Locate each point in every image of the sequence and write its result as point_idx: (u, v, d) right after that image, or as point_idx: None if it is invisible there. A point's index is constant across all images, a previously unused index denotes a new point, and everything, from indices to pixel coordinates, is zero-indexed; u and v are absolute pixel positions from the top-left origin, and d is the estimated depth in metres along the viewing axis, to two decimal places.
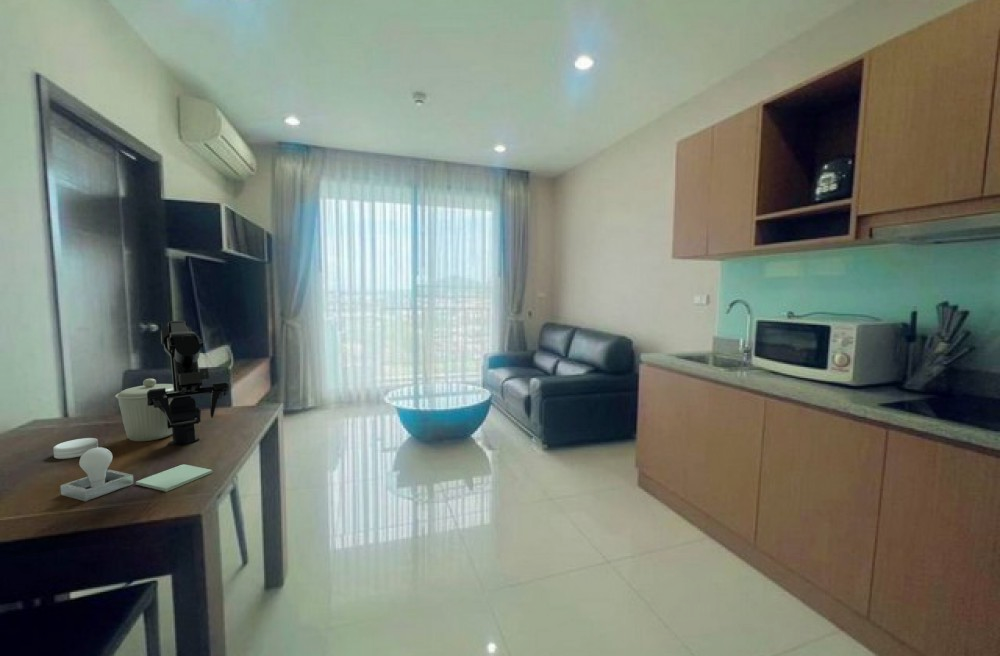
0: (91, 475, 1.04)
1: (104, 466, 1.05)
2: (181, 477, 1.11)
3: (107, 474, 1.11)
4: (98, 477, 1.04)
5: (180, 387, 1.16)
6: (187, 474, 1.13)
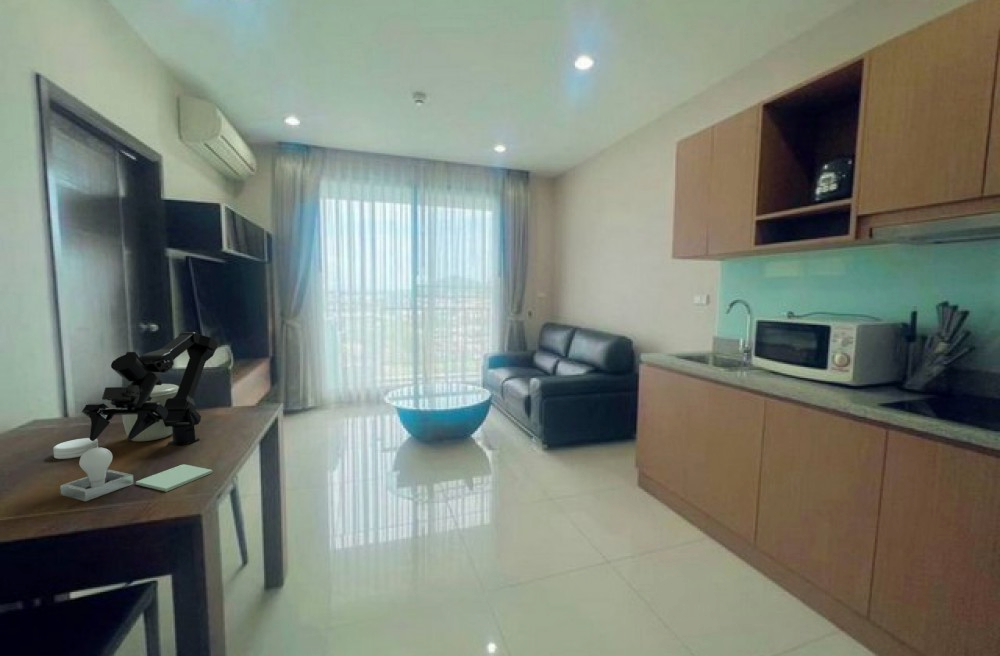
0: (91, 475, 1.04)
1: (104, 466, 1.05)
2: (181, 477, 1.11)
3: (107, 474, 1.11)
4: (98, 477, 1.04)
5: (115, 404, 1.14)
6: (187, 474, 1.13)
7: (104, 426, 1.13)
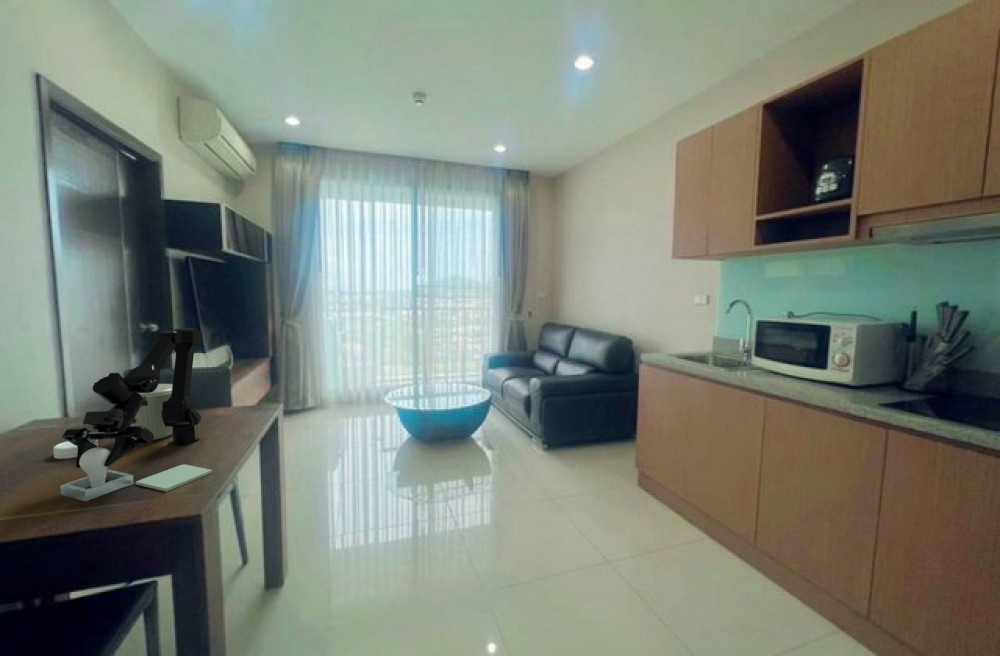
0: (91, 475, 1.04)
1: (104, 466, 1.05)
2: (181, 477, 1.11)
3: (107, 474, 1.11)
4: (98, 477, 1.04)
5: (97, 428, 1.08)
6: (187, 474, 1.13)
7: None
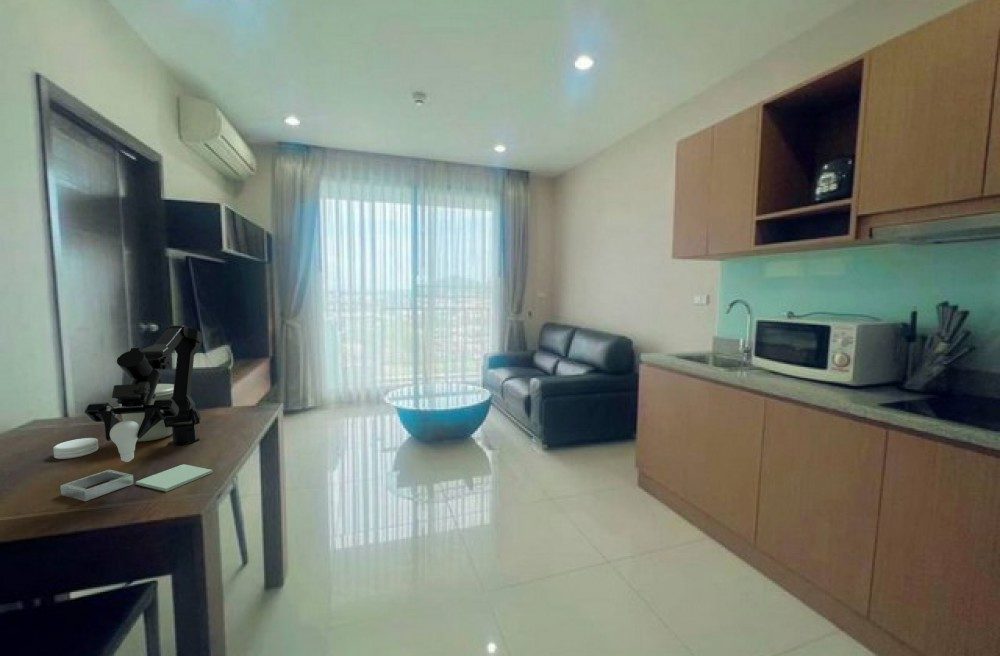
0: (123, 447, 1.05)
1: (135, 438, 1.07)
2: (181, 477, 1.11)
3: (107, 474, 1.11)
4: (129, 449, 1.06)
5: (121, 402, 1.09)
6: (187, 474, 1.13)
7: None
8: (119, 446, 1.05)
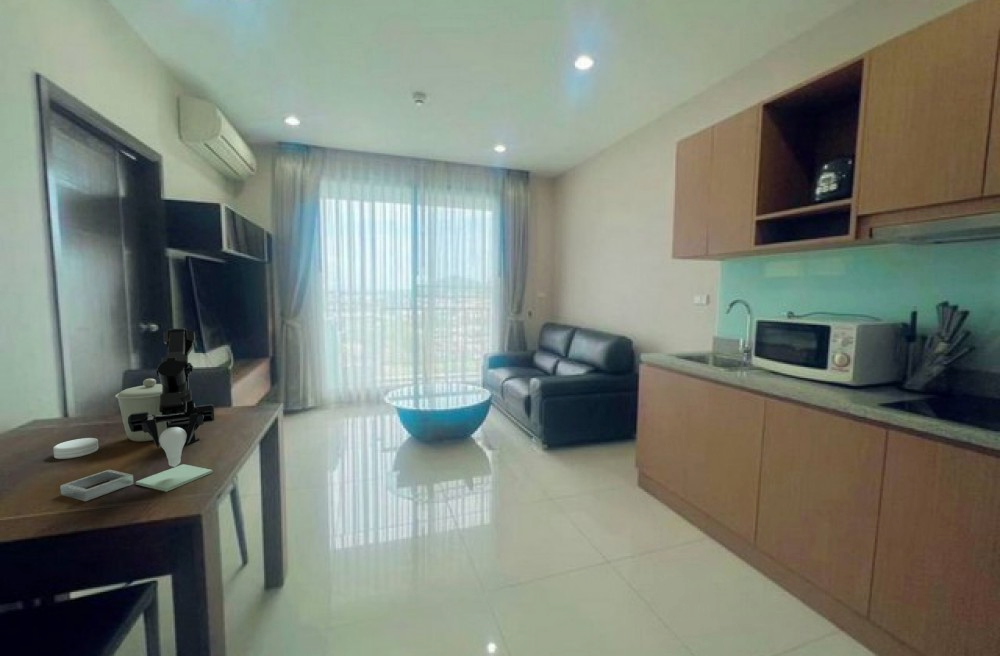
0: (173, 452, 1.10)
1: (184, 443, 1.12)
2: (181, 477, 1.11)
3: (107, 474, 1.11)
4: (179, 454, 1.12)
5: (163, 410, 1.13)
6: (187, 474, 1.13)
7: None
8: (170, 451, 1.10)
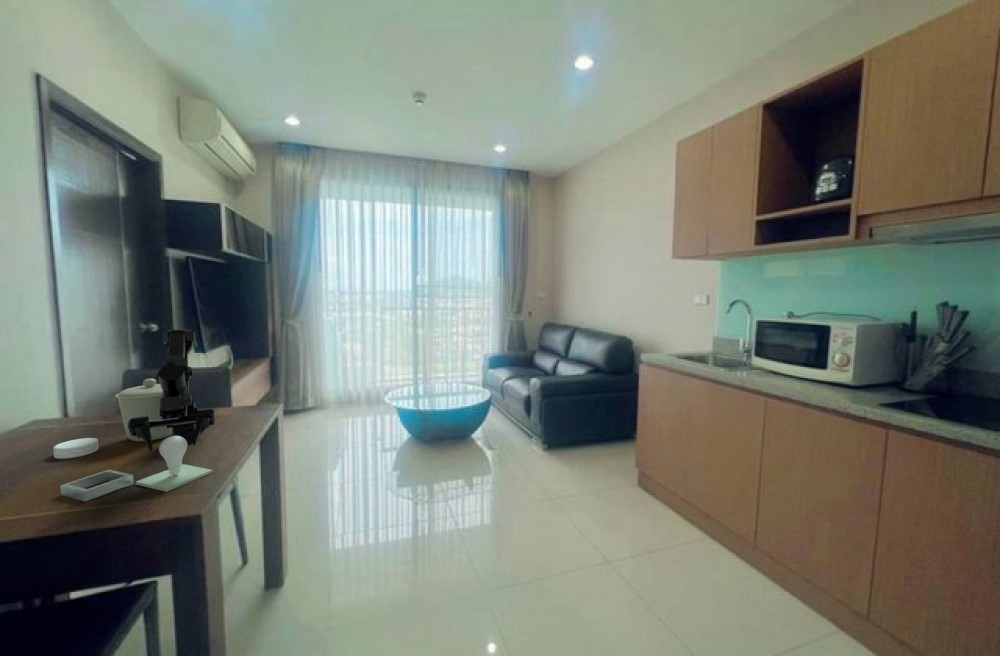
0: (174, 461, 1.11)
1: (184, 451, 1.13)
2: (181, 477, 1.11)
3: (107, 474, 1.11)
4: (179, 462, 1.12)
5: (163, 414, 1.13)
6: (187, 474, 1.13)
7: (151, 438, 1.11)
8: (170, 460, 1.10)
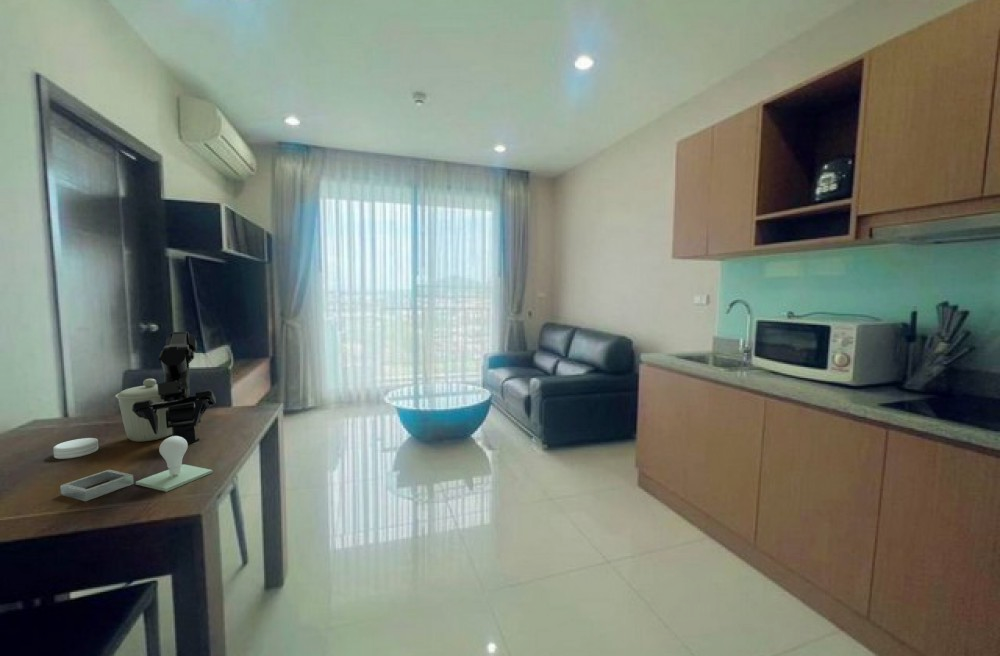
0: (174, 461, 1.11)
1: None
2: (181, 477, 1.11)
3: (107, 474, 1.11)
4: (179, 463, 1.12)
5: (164, 398, 1.19)
6: (187, 474, 1.13)
7: (157, 420, 1.19)
8: (170, 461, 1.10)
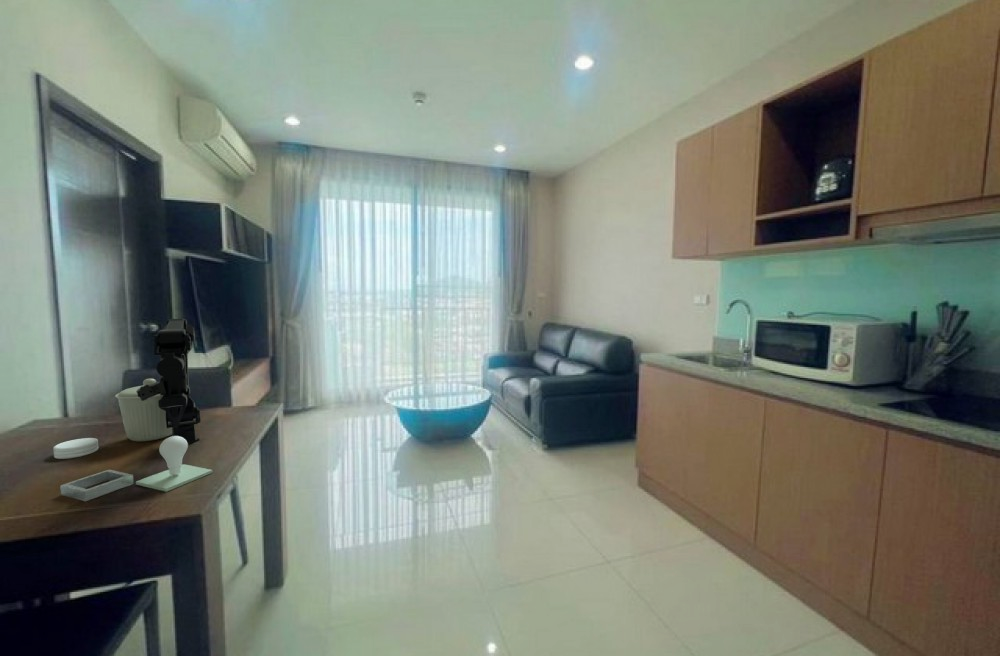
0: (174, 461, 1.11)
1: None
2: (181, 477, 1.11)
3: (107, 474, 1.11)
4: (179, 463, 1.12)
5: None
6: (187, 474, 1.13)
7: None
8: (170, 461, 1.10)
